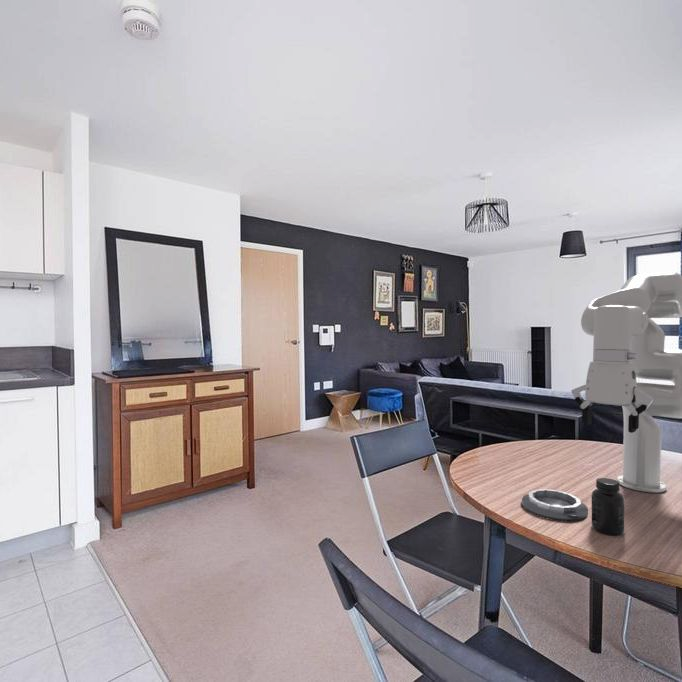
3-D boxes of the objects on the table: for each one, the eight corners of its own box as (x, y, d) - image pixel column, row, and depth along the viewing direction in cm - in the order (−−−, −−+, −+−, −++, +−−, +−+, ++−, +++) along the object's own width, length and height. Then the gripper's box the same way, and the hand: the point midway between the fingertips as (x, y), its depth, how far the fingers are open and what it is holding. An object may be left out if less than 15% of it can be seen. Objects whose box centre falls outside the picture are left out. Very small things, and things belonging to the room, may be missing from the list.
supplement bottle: (612, 523, 110) (613, 475, 109) (631, 536, 103) (632, 486, 102) (585, 523, 109) (585, 476, 109) (602, 537, 102) (603, 486, 102)
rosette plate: (538, 492, 130) (538, 482, 130) (597, 509, 118) (597, 499, 118) (510, 506, 120) (511, 496, 119) (572, 527, 107) (572, 516, 107)
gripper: (658, 358, 101) (656, 432, 101) (579, 355, 114) (577, 420, 115) (648, 359, 96) (646, 437, 97) (566, 355, 109) (565, 424, 110)
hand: (609, 428), depth 106 cm, fingers open, 9 cm apart
